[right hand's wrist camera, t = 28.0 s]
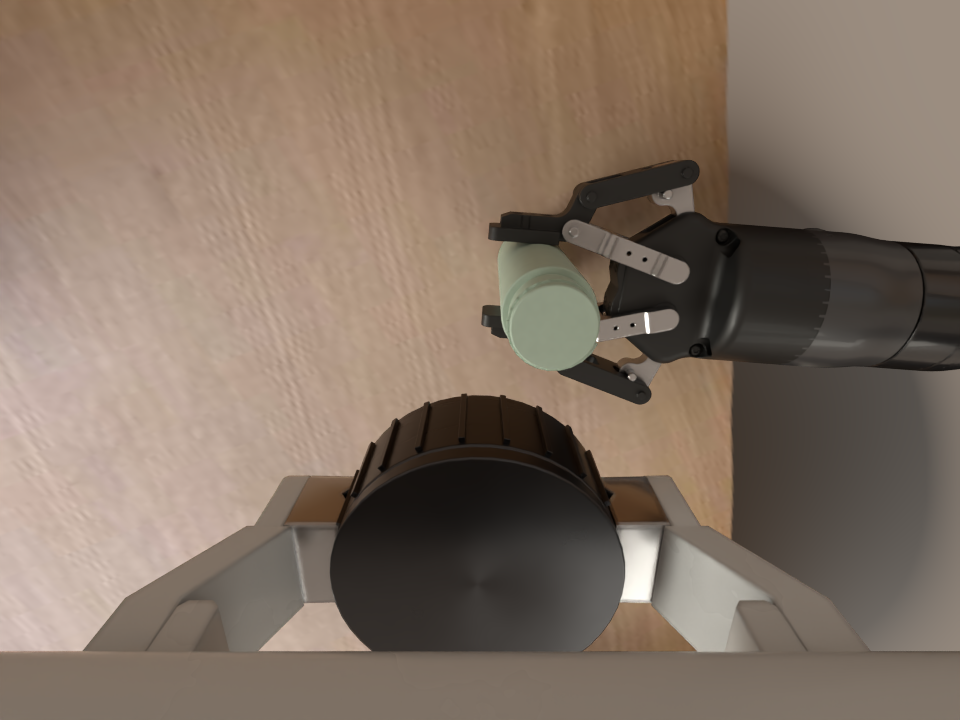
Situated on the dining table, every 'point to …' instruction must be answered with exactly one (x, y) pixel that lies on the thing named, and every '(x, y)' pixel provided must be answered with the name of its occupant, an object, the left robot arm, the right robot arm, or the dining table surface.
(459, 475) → the lid
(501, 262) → the green bottle
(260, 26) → the dining table surface
